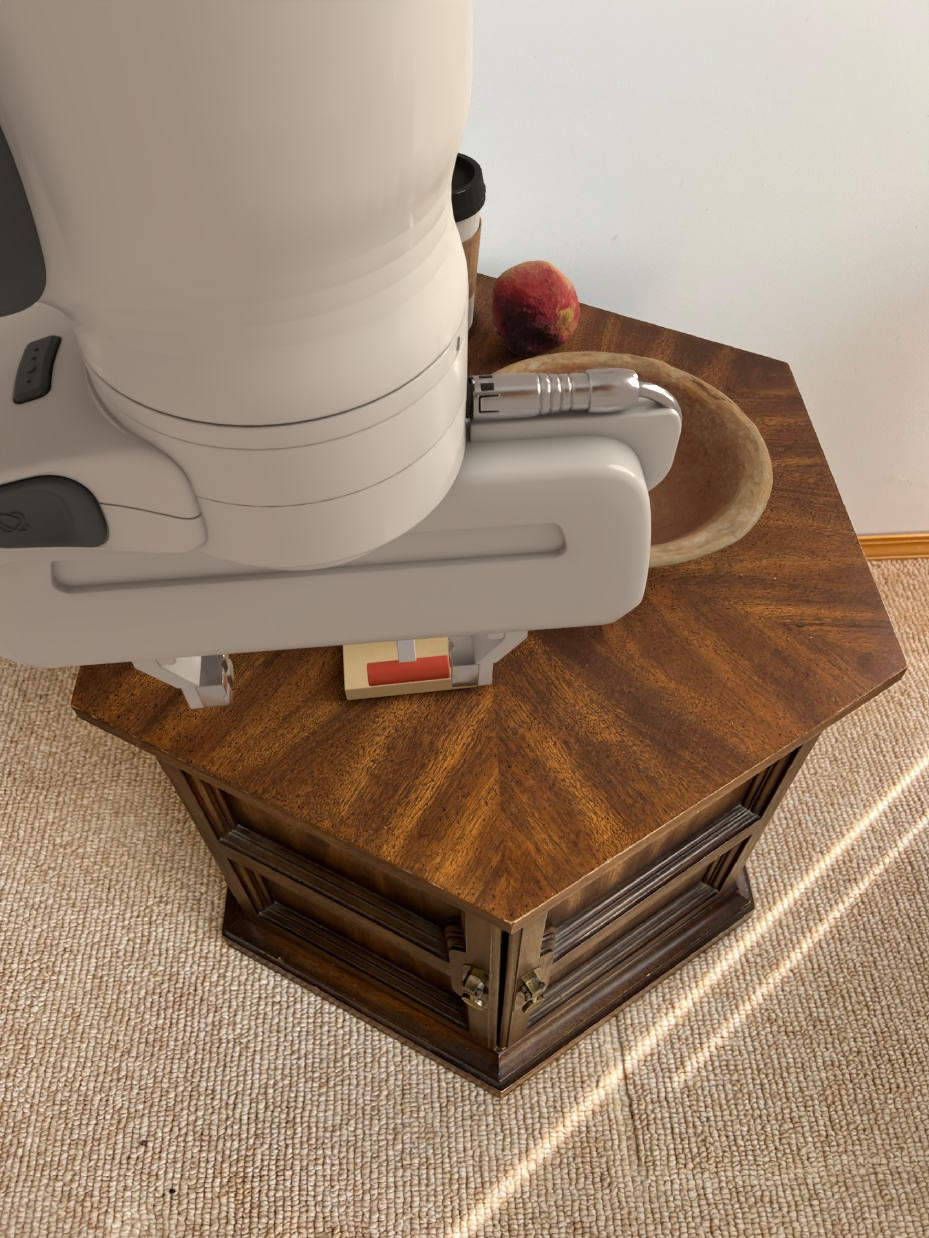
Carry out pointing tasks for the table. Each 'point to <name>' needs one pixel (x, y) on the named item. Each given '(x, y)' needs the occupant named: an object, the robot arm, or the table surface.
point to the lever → (408, 667)
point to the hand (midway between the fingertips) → (342, 680)
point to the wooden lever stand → (387, 651)
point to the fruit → (534, 308)
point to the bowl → (689, 459)
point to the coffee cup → (468, 215)
